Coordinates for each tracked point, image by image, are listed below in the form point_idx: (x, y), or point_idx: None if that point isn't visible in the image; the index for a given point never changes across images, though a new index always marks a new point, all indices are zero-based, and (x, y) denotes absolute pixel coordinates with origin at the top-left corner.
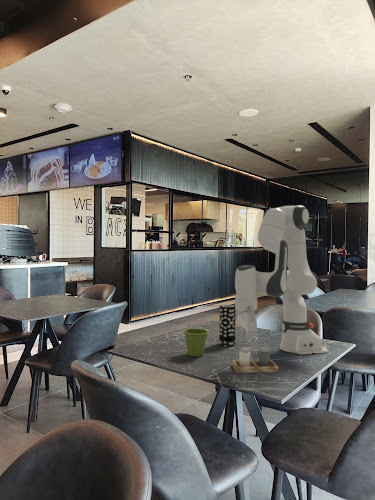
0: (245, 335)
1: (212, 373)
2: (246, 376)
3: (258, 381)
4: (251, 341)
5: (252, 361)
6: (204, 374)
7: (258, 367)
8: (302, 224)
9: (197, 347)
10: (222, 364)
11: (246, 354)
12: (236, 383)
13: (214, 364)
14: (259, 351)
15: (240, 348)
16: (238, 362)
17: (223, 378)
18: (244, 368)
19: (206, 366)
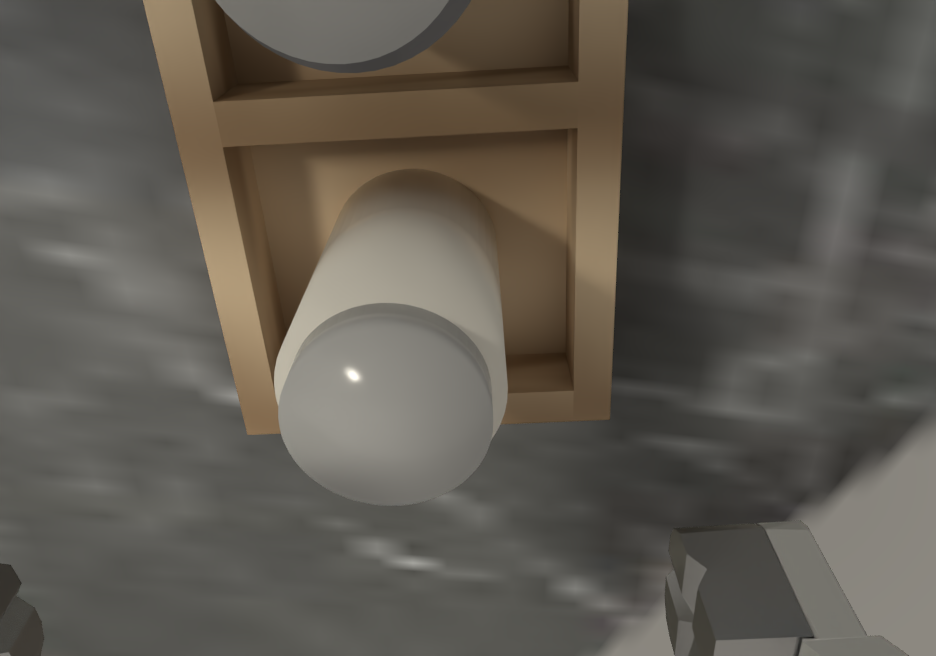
0: (2, 589)
1: (520, 577)
2: (650, 247)
3: (873, 119)
4: (800, 536)
5: (282, 130)
6: (549, 637)
7: (622, 85)
8: None
9: None
10: (181, 463)
11: (505, 362)
12: (872, 395)
13: (201, 539)
14: (381, 64)
15: (365, 501)
16: (273, 334)
17: (688, 498)
18: (610, 308)
19: (289, 611)
